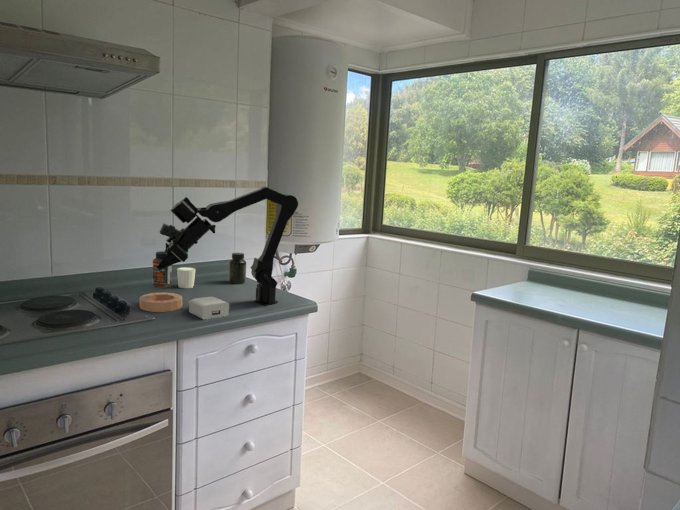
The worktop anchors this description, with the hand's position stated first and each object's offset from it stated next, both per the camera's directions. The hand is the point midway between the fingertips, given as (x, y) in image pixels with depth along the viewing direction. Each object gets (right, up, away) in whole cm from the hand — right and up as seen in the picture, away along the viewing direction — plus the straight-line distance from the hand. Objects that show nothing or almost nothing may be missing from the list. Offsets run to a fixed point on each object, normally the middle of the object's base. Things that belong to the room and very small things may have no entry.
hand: (157, 266), depth 168 cm
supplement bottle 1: (+1, -7, +2) cm, 7 cm away
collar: (0, -13, +2) cm, 13 cm away
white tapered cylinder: (0, -9, +31) cm, 32 cm away
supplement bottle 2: (+17, -8, +43) cm, 47 cm away
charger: (+15, -15, -1) cm, 22 cm away
